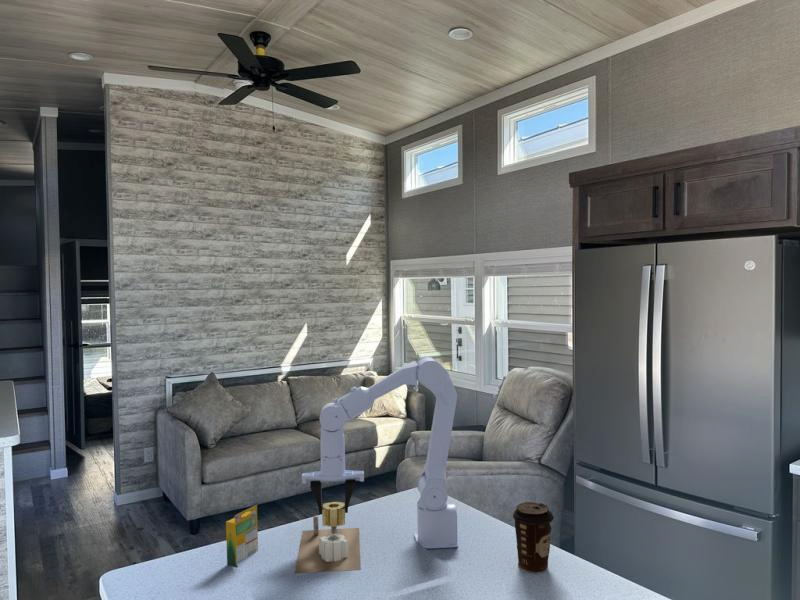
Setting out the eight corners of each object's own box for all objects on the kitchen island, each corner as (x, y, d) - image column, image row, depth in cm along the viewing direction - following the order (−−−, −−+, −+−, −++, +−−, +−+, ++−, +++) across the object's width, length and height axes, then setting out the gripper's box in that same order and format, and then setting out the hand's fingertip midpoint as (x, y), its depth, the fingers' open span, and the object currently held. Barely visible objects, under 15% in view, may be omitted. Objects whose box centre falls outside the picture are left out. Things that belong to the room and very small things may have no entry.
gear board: (359, 531, 147) (358, 510, 147) (360, 574, 125) (360, 548, 125) (302, 534, 146) (302, 512, 146) (294, 577, 124) (294, 552, 124)
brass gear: (345, 517, 142) (345, 501, 143) (345, 526, 137) (344, 509, 137) (323, 518, 142) (323, 502, 142) (322, 527, 137) (322, 510, 137)
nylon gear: (340, 548, 136) (339, 531, 135) (348, 558, 131) (348, 540, 131) (318, 553, 133) (317, 536, 133) (326, 563, 128) (326, 545, 128)
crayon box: (249, 551, 137) (248, 502, 137) (258, 554, 136) (258, 504, 135) (226, 564, 131) (225, 513, 130) (236, 567, 129) (235, 515, 129)
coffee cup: (555, 561, 130) (555, 502, 130) (552, 578, 122) (552, 516, 122) (516, 555, 133) (515, 498, 133) (510, 572, 125) (510, 512, 125)
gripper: (363, 449, 143) (363, 504, 144) (303, 451, 142) (303, 506, 142) (363, 457, 136) (364, 515, 137) (300, 459, 135) (301, 518, 135)
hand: (333, 511), depth 139 cm, fingers open, 5 cm apart
